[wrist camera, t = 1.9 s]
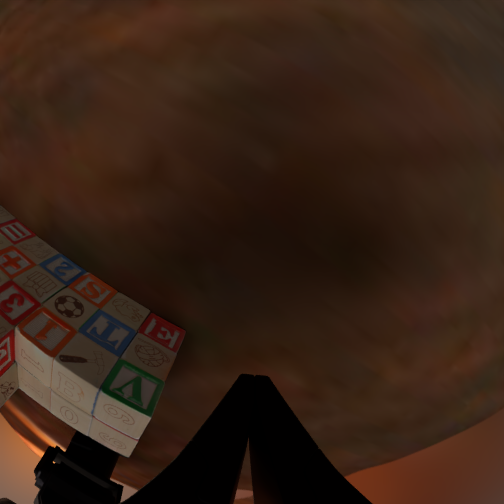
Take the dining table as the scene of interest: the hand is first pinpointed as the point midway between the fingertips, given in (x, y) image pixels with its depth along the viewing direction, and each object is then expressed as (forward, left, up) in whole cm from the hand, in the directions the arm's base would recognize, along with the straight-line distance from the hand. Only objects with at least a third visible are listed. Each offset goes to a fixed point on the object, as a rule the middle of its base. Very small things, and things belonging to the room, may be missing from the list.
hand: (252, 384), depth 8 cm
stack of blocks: (-5, +15, -12) cm, 20 cm away
